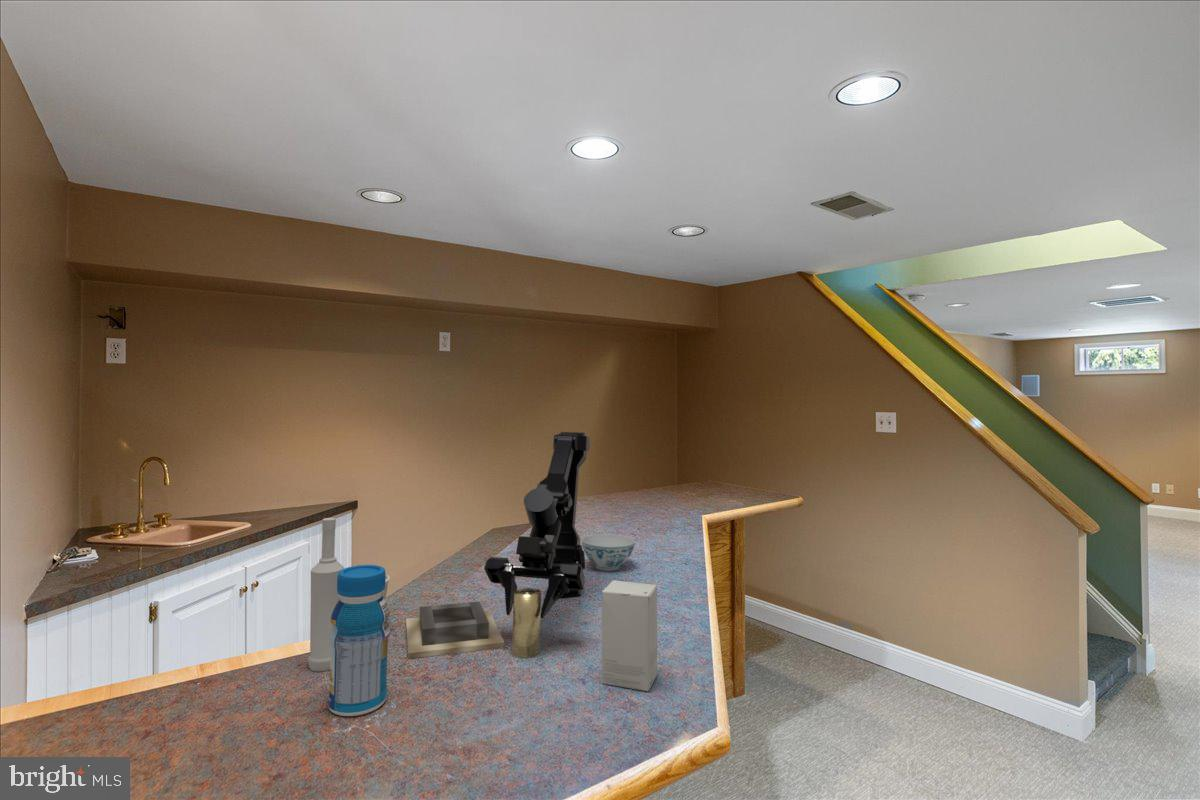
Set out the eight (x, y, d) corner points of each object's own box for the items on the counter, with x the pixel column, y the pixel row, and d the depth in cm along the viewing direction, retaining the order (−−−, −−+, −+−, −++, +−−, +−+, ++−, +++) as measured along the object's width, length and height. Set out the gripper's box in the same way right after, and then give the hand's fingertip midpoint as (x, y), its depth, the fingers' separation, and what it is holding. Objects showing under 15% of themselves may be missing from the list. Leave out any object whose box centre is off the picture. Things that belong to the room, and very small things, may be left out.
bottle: (315, 658, 101) (319, 515, 101) (345, 658, 101) (349, 516, 102) (302, 672, 96) (307, 522, 96) (334, 672, 96) (339, 522, 96)
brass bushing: (536, 644, 109) (537, 585, 109) (542, 656, 104) (544, 594, 105) (509, 648, 107) (511, 588, 108) (515, 659, 103) (516, 596, 103)
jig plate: (489, 615, 124) (489, 596, 124) (503, 647, 108) (504, 626, 108) (405, 623, 118) (406, 603, 118) (408, 658, 102) (408, 636, 102)
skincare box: (658, 676, 98) (660, 584, 98) (648, 694, 92) (650, 596, 92) (611, 667, 101) (613, 578, 101) (598, 684, 94) (601, 589, 94)
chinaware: (635, 576, 155) (636, 547, 155) (579, 574, 155) (580, 545, 155) (633, 561, 170) (633, 534, 170) (582, 559, 170) (582, 533, 170)
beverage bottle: (350, 725, 81) (354, 582, 81) (314, 707, 85) (318, 571, 85) (399, 699, 88) (403, 568, 88) (364, 684, 92) (368, 559, 93)
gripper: (489, 515, 112) (464, 590, 101) (583, 521, 108) (568, 599, 97) (501, 546, 119) (480, 618, 108) (590, 552, 116) (577, 628, 105)
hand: (524, 615), depth 105 cm, fingers open, 6 cm apart
